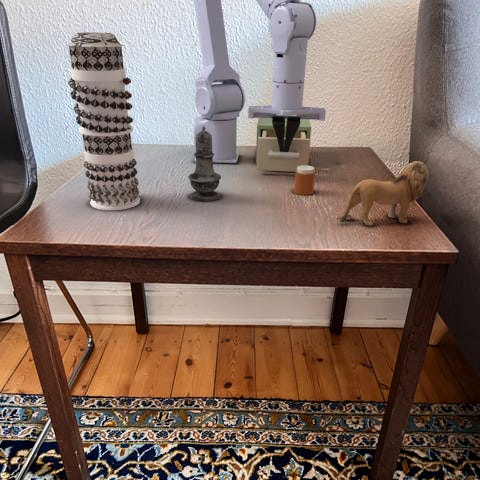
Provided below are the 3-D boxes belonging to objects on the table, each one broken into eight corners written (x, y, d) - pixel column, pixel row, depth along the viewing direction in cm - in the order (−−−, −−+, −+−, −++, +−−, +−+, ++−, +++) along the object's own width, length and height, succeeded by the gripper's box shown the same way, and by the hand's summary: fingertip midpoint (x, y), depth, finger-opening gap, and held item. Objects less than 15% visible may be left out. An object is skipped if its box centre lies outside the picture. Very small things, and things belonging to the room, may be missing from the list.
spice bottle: (294, 194, 86) (296, 169, 84) (293, 188, 89) (295, 164, 87) (313, 195, 86) (316, 170, 84) (312, 189, 89) (315, 165, 87)
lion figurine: (406, 210, 80) (418, 156, 75) (426, 221, 76) (440, 165, 71) (331, 219, 76) (338, 163, 71) (348, 231, 72) (357, 172, 67)
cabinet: (307, 165, 104) (311, 126, 99) (255, 163, 104) (257, 125, 100) (304, 151, 115) (307, 115, 111) (257, 149, 116) (259, 114, 111)
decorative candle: (112, 190, 86) (91, 31, 72) (153, 199, 83) (139, 33, 69) (76, 204, 79) (45, 32, 66) (119, 214, 76) (96, 34, 62)
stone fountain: (225, 193, 86) (226, 124, 79) (214, 203, 81) (213, 130, 75) (196, 189, 88) (194, 121, 81) (183, 199, 83) (179, 127, 76)
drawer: (308, 178, 92) (311, 145, 89) (256, 176, 93) (257, 143, 89) (304, 157, 106) (307, 127, 103) (259, 155, 107) (260, 126, 103)
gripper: (248, 83, 83) (246, 161, 90) (330, 85, 82) (321, 164, 89) (249, 78, 88) (247, 152, 96) (326, 80, 88) (318, 155, 95)
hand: (283, 157), depth 93 cm, fingers closed, pressing on drawer
